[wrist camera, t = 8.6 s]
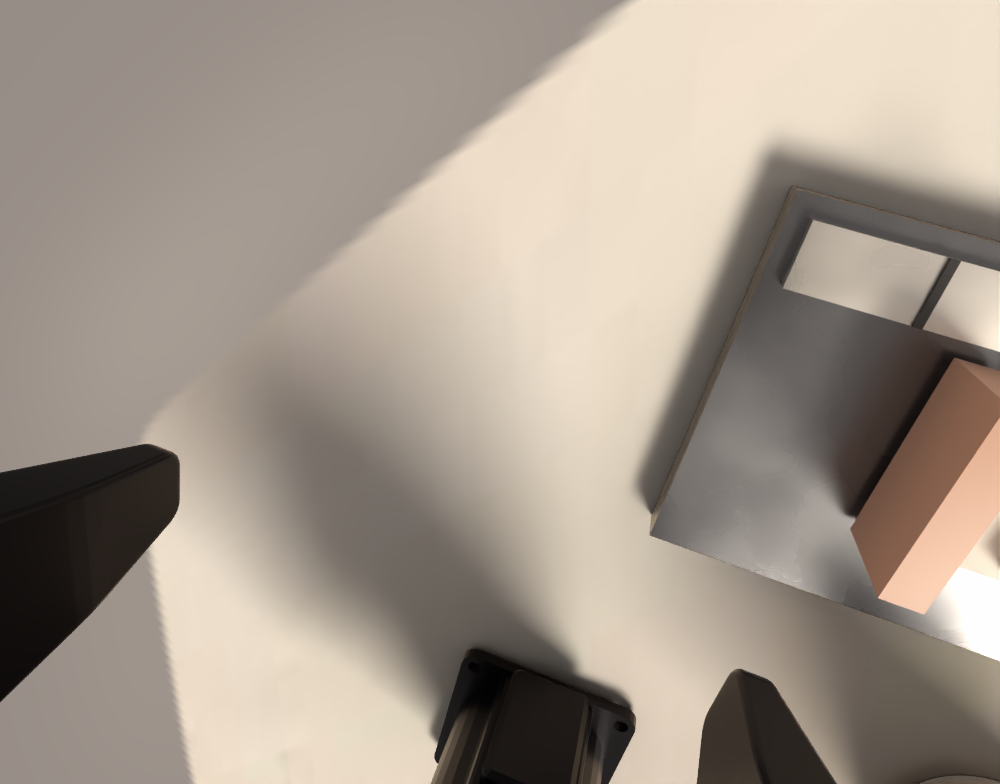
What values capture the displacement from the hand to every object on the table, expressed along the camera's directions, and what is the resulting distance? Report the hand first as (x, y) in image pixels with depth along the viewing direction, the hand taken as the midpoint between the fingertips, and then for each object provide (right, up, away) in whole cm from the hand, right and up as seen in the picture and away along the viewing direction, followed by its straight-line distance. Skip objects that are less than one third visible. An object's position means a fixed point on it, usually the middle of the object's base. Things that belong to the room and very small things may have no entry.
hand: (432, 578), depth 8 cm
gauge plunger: (+13, +1, +7) cm, 14 cm away
